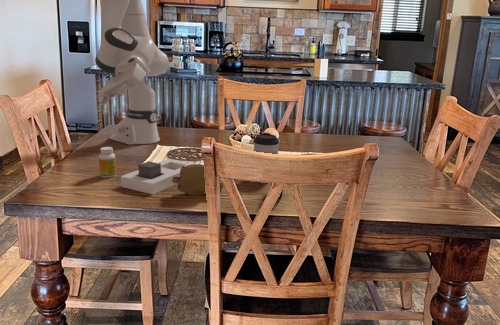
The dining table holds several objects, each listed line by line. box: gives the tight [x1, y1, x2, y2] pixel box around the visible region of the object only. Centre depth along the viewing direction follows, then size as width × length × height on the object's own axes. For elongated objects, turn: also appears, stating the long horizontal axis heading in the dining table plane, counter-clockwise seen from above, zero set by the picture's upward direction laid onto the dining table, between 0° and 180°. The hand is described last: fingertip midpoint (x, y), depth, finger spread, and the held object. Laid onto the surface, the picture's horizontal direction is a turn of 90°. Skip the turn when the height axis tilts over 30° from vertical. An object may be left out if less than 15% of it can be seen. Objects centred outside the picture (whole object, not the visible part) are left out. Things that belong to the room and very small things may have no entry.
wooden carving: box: [172, 163, 224, 197], centre depth 148 cm, size 16×5×10 cm, turn 98°
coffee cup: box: [253, 132, 280, 155], centre depth 167 cm, size 9×9×15 cm
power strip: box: [120, 158, 195, 195], centre depth 160 cm, size 13×25×7 cm, turn 151°
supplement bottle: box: [98, 146, 117, 179], centre depth 162 cm, size 5×5×10 cm
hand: (110, 99), depth 157 cm, fingers open, 8 cm apart
